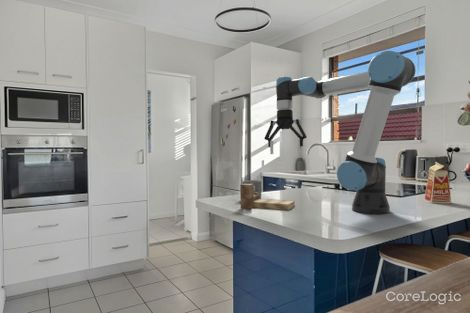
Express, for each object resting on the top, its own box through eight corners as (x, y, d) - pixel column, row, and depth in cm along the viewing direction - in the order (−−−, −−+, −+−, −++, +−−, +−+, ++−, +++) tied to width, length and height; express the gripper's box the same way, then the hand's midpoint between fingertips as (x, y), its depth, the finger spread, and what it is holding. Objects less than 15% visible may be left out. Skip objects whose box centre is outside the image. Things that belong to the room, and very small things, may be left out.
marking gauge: (261, 203, 160) (261, 181, 159) (249, 209, 145) (249, 185, 145) (253, 203, 162) (253, 181, 161) (240, 208, 147) (240, 184, 147)
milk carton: (423, 200, 166) (424, 161, 165) (443, 200, 165) (443, 161, 164) (432, 203, 157) (432, 162, 156) (452, 203, 156) (453, 162, 155)
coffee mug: (244, 198, 177) (244, 180, 177) (262, 198, 175) (262, 180, 175) (240, 202, 164) (239, 182, 164) (259, 202, 162) (259, 183, 162)
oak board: (294, 206, 152) (294, 200, 152) (289, 210, 143) (289, 204, 143) (251, 203, 161) (251, 197, 161) (243, 206, 152) (243, 201, 152)
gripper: (312, 109, 154) (312, 153, 155) (262, 112, 164) (263, 154, 164) (309, 107, 147) (310, 153, 148) (257, 110, 157) (258, 154, 157)
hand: (285, 154), depth 156 cm, fingers open, 13 cm apart
